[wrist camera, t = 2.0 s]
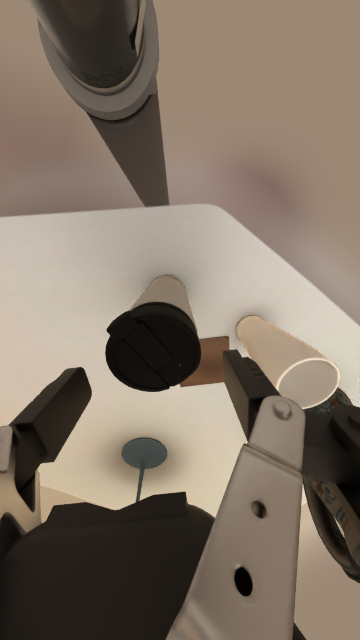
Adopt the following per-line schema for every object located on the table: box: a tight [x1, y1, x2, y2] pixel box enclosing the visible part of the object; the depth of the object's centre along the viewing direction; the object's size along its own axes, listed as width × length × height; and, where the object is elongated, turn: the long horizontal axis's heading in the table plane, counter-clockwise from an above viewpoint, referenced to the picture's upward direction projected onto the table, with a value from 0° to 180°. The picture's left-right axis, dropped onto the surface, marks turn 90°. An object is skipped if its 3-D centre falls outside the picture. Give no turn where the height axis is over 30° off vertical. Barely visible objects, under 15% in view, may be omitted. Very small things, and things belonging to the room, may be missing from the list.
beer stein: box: [303, 387, 360, 583], centre depth 28 cm, size 16×19×25 cm
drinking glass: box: [237, 316, 340, 409], centre depth 25 cm, size 7×7×15 cm
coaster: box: [180, 336, 229, 387], centre depth 34 cm, size 10×10×1 cm
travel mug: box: [105, 276, 201, 392], centre depth 20 cm, size 6×7×20 cm
